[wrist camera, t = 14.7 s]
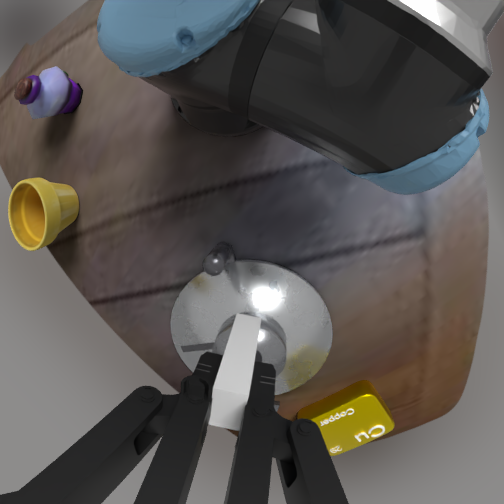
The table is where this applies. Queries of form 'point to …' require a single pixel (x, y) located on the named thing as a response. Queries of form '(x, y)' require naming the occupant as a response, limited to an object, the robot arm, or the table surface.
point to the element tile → (350, 417)
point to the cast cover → (269, 340)
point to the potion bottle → (49, 93)
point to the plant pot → (41, 211)
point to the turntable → (253, 300)
